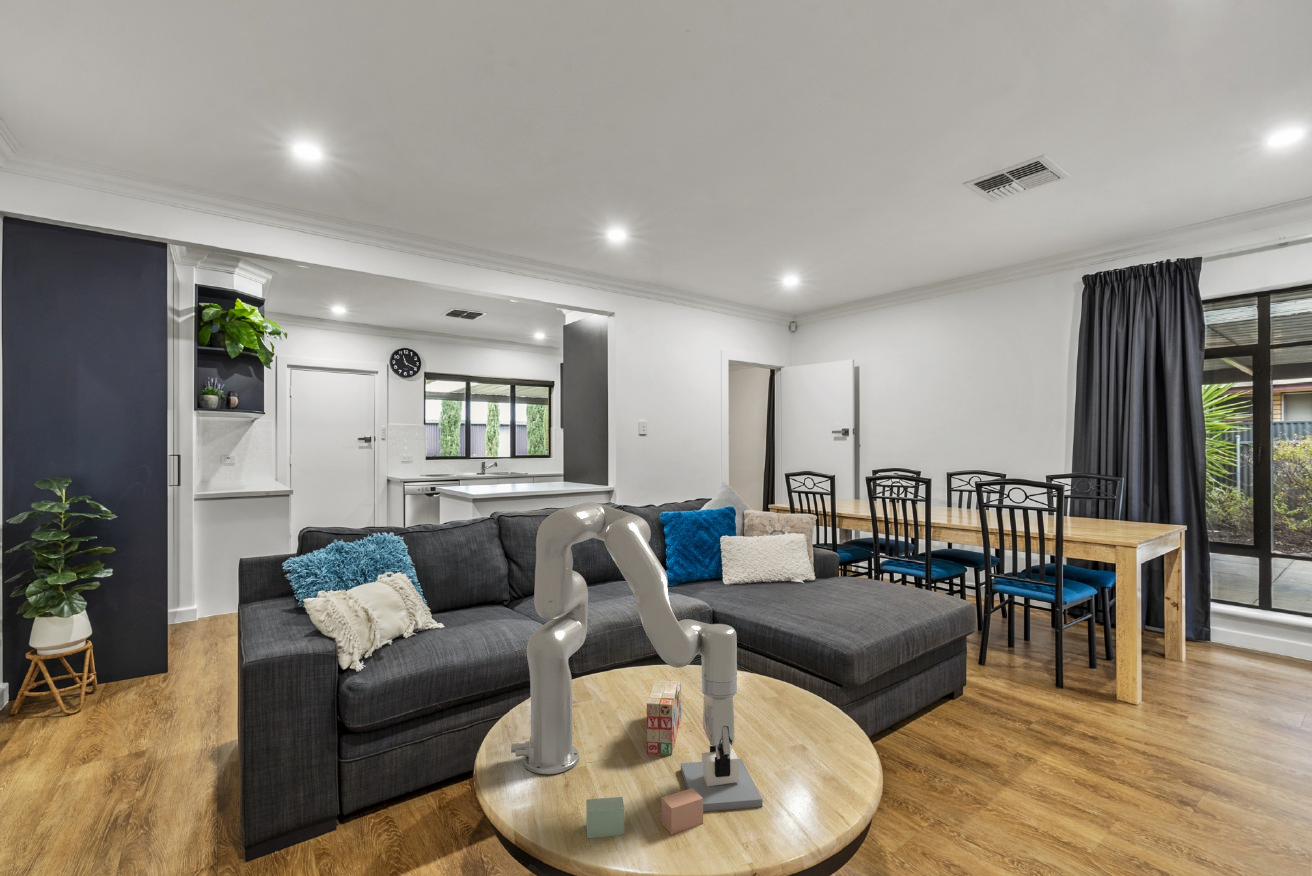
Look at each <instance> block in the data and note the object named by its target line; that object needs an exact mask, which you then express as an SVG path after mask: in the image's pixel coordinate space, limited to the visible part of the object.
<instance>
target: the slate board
mask: <svg viewBox="0 0 1312 876" xmlns="http://www.w3.org/2000/svg"><path fill="white" fill-rule="evenodd" d="M738 766H739V782H735V783H728V784H721V785H714V786H707V785H706V782H705V780H704V777H703V765H702V761H694V762H693V761H691V762H681V763H680V771H681V772H680V773H681V774H682V777H683V780H684V784H685V787H686V790H688V789H691V788H693V789H694V790H695V791H696V792H697V793H698V794H699V795H700V796H701V797H702V798H703V813H704V812H715V811H724V810H726V811H727V810H728V811H729V810H739V809H750V808H751V809H752V808H760V807H761V808H762V807H763V797H762V795H761V794H760V792H759V790H758V788H757V786H756V784H755V782H754V781H753V779H752V776H751V774H750V773H749V771H748V769H747V767H746V765H745V763H744V761H743V760H742V758H738Z"/></svg>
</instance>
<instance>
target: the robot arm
mask: <svg viewBox="0 0 1312 876" xmlns="http://www.w3.org/2000/svg"><path fill="white" fill-rule="evenodd" d="M651 534H652V531H651V528H650V525H649V524H648V522H647V521H646V520H645V519H644V518H643V517H641V516H640V515H637V514H634V513H631V512H627V511H624V510H621V509H617V508H614V507H610V506H608V505H604V504H602V503H597V502H591V501H590V502H589V501H588V502H584V503H579V504H575V505H571V506H567V507H564V508H561V509H559V510H557V511H555V512H553V513H551V514H549V515H548V516H547V517H545V518H544V519H543V521H542V522H541V523H540V525H539V527H538V530H537V533H536V539H535V540H536V541H535V547H536V548H535V550H536V551H535V554H536V555H535V571H534V594H533V595H534V597H533V602H534V603H533V604H534V607H535V608H534V609H535V612H536V613H537V614H538V616H539V617H540V618H542V619H543V620H548V622H546V623H544V624H542V625H541V626H540V627H538V628H537V629H536V630H534V632H533V633H532V635H530V636H529V639H528V642H527V644H526V645H527V646H526V657H527V663H528V670H529V681H530V684H529V687H530V692H529V693H530V736H529V740H526V741H525V742H522V743H519V742H517V743H511V744H510V745H511V746H510V753H511V754H512V753H514V754H515V758H516V757H523V765H524V767H525V768H526V769H527V770H528V771H530V772H533V773H535V774H537V775H538V774H540V775H554V774H560V773H563V772H566V771H570V769H572V768H574V767H575V766H576V764H578V762H579V761H580V751H579V750H578V748H576V747H575V746H574V745H573V679H572V678H573V677H572V674H571V670H570V669H571V668H570V666H569V658H570V657H572V655H574V654H575V653H576V652H577V651H578V650H579V649H580V648H581V647H582V646H583V645H584V643H585V640H586V637H587V632H588V631H587V630H588V613H589V612H588V610H589V608H588V607H589V589H588V584H587V582H586V580H585V578H584V577H583V576H582V575H581V574H580V573H579V572H578V571H575V570H573V568H574V567H573V566H574V558H573V551H572V549H571V548H572V547H573V545H576V544H578V543H582V542H585V541H587V540H590V539H596V540H599V541H602V542H604V546H605V547H606V548H605V549H606V550H607V552H608V553H609V554H610V556H611V559H612V560H613V562H614V563H615V565H616V566H617V568H618V569H619V571H620V573H621V575H622V577H623V578H624V580H625V581H626V583H627V585H628V587H629V589H630V590H631V592H632V593H633V596H634V599H635V604H636V609H637V612H638V615H639V618H640V619H639V620H640V622H641V624H642V627H643V630H644V632H645V634H646V636H647V637H648V639H649V641H650V642H651V643H650V644H651V645H652V646H653V648H654V649H655V651H656V653H657V654H658V656H659V657H660V658H661V660H663V661H664V662H665V663H666V664H667V665H668V666H670V667H673V668H679V669H682V668H685V667H687V666H688V665H690V664H691V662H692V661H694V659H695V657H696V656H698V655H700V656H701V692H702V694H703V707H702V708H703V710H702V711H703V712H702V714H703V717H702V727H703V730H704V733H705V736H706V737H707V739H708V742H709V744H710V745H709V752H716V757H715V776H716V777H726V776H730V753H731V751H730V749H731V746H733V745H734V743H735V710H734V709H735V707H734V697H735V696H736V695H737V694H738V663H737V660H738V658H737V655H738V653H737V652H738V650H737V649H738V645H737V643H738V640H737V639H738V638H737V632H736V631H737V630H735V628H734V627H732V626H731V625H728V624H724V623H713V624H712V623H711V624H710V623H707V622H702V621H698V620H695V619H690V618H688V619H686V618H685V619H681V620H679V621H678V619H677V617H676V615H675V613H674V611H673V609H672V606H671V603H670V599H669V588H668V586H669V581H668V574H667V571H666V570H665V568H664V567H663V566H662V564H661V562H660V560H659V559H658V557H657V556H656V554H655V552H654V550H653V549H652V548H651V546H650V544H649V542H650V540H651V538H652V537H651V536H652V535H651Z"/></svg>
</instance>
